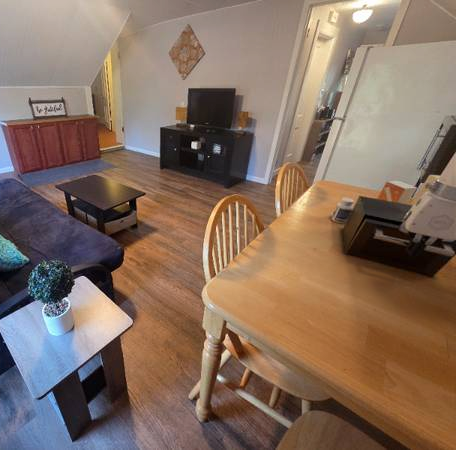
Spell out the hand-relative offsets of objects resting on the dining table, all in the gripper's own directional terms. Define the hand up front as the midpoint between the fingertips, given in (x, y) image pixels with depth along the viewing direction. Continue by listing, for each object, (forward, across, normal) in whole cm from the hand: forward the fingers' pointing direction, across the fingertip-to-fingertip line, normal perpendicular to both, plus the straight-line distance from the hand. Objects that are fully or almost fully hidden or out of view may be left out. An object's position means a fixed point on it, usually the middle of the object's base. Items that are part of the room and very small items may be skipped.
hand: (411, 252), depth 67 cm
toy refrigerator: (+11, +14, +42) cm, 45 cm away
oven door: (+11, 0, +6) cm, 13 cm away
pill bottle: (+11, -12, +34) cm, 37 cm away
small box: (+11, +7, +55) cm, 56 cm away
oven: (+11, 0, +18) cm, 21 cm away
